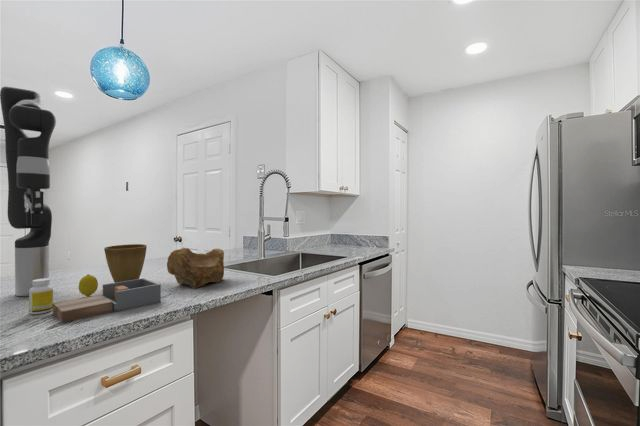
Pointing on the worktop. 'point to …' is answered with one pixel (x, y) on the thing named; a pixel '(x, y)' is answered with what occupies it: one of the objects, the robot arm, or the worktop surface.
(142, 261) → the plant pot
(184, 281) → the rough brown rock
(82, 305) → the brown wavy slab
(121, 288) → the block
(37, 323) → the worktop surface
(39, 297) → the supplement bottle
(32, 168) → the robot arm
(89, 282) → the lemon
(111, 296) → the box
